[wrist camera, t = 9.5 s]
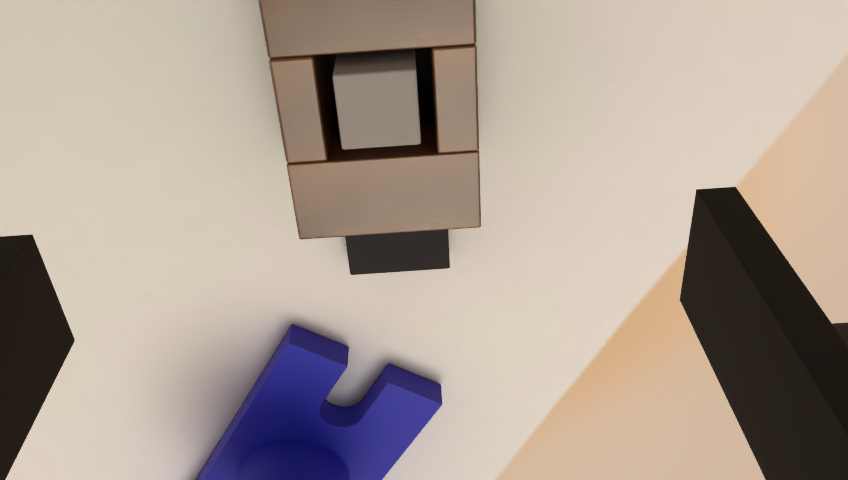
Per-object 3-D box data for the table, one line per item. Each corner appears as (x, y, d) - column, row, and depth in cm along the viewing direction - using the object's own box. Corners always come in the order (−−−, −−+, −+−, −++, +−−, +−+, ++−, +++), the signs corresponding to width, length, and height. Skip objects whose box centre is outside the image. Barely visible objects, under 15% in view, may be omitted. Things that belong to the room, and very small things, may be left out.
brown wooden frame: (270, -74, 25) (250, -41, 21) (463, -87, 25) (474, -56, 21) (310, 181, 30) (299, 240, 26) (471, 170, 30) (481, 227, 26)
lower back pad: (283, -250, 23) (255, -242, 19) (421, -260, 23) (428, -255, 18) (351, 261, 33) (344, 349, 28) (448, 254, 33) (457, 341, 28)
